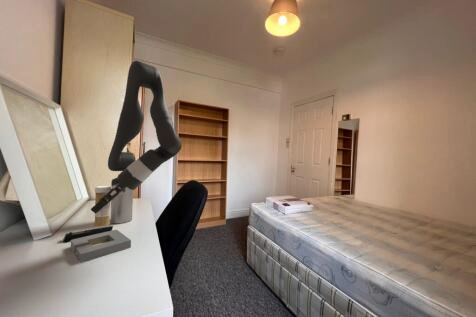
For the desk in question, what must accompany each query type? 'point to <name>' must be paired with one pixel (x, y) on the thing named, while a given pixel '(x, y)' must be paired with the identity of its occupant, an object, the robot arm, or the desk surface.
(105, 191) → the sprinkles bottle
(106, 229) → the electric trimmer
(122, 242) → the holder plate
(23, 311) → the desk surface
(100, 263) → the desk surface
